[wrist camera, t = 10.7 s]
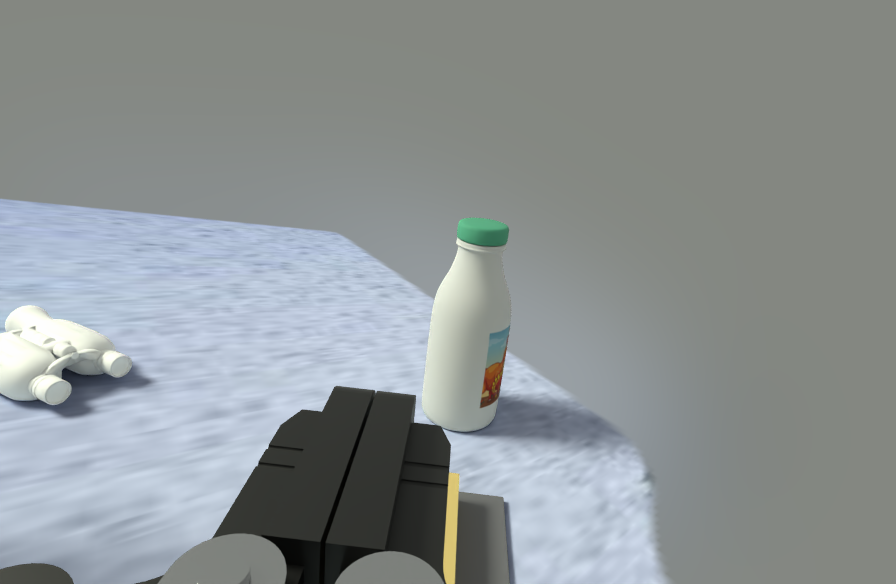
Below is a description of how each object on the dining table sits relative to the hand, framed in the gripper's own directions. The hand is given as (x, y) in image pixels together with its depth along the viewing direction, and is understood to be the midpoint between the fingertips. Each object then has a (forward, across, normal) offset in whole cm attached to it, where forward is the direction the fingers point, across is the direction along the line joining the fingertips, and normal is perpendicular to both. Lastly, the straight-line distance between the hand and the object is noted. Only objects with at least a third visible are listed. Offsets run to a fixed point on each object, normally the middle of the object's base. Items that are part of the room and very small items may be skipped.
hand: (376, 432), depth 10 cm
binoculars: (+36, -39, -24) cm, 58 cm away
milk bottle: (+37, +3, -24) cm, 44 cm away
